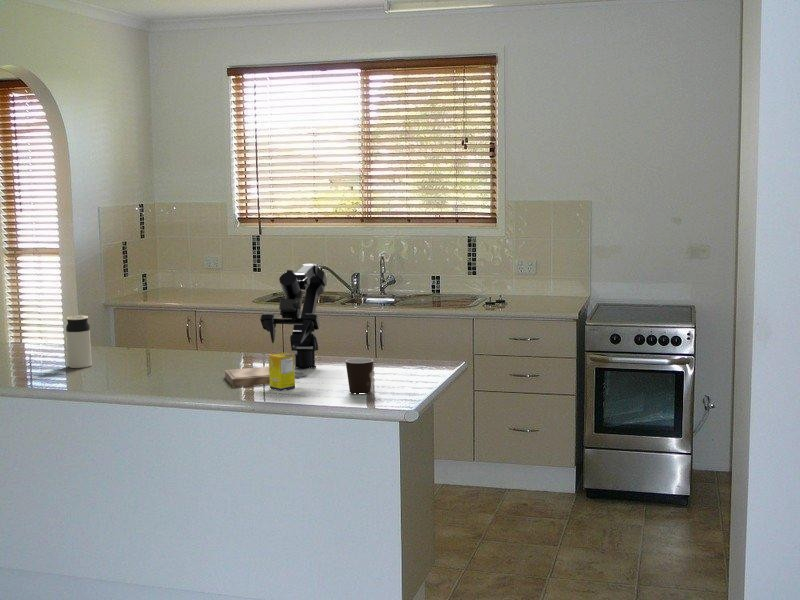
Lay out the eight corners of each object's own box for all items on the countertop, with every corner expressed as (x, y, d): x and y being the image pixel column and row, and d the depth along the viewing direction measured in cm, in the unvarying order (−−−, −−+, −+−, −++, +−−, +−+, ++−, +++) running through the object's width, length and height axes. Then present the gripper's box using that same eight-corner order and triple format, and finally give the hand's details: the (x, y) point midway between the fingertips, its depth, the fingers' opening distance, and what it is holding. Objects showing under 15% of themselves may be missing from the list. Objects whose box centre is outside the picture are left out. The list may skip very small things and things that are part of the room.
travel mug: (77, 369, 339) (74, 319, 336) (64, 367, 343) (60, 317, 341) (96, 365, 345) (93, 316, 343) (83, 363, 350) (80, 314, 347)
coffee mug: (363, 396, 290) (363, 364, 289) (340, 393, 295) (339, 361, 293) (384, 389, 300) (384, 357, 299) (361, 386, 304) (361, 355, 303)
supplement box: (284, 385, 308) (283, 352, 306) (295, 388, 303) (294, 354, 302) (269, 388, 303) (268, 354, 302) (280, 391, 299) (279, 356, 298)
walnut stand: (272, 373, 326) (271, 365, 326) (281, 382, 311) (281, 374, 311) (225, 377, 321) (224, 369, 321) (232, 387, 306) (232, 378, 306)
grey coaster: (301, 372, 327) (300, 370, 327) (307, 377, 319) (307, 375, 318) (275, 374, 324) (275, 373, 324) (280, 379, 316) (280, 378, 316)
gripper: (260, 289, 313) (253, 328, 304) (316, 289, 311) (310, 328, 302) (267, 309, 322) (260, 347, 313) (321, 309, 320) (316, 348, 311)
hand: (286, 342), depth 309 cm, fingers open, 9 cm apart
